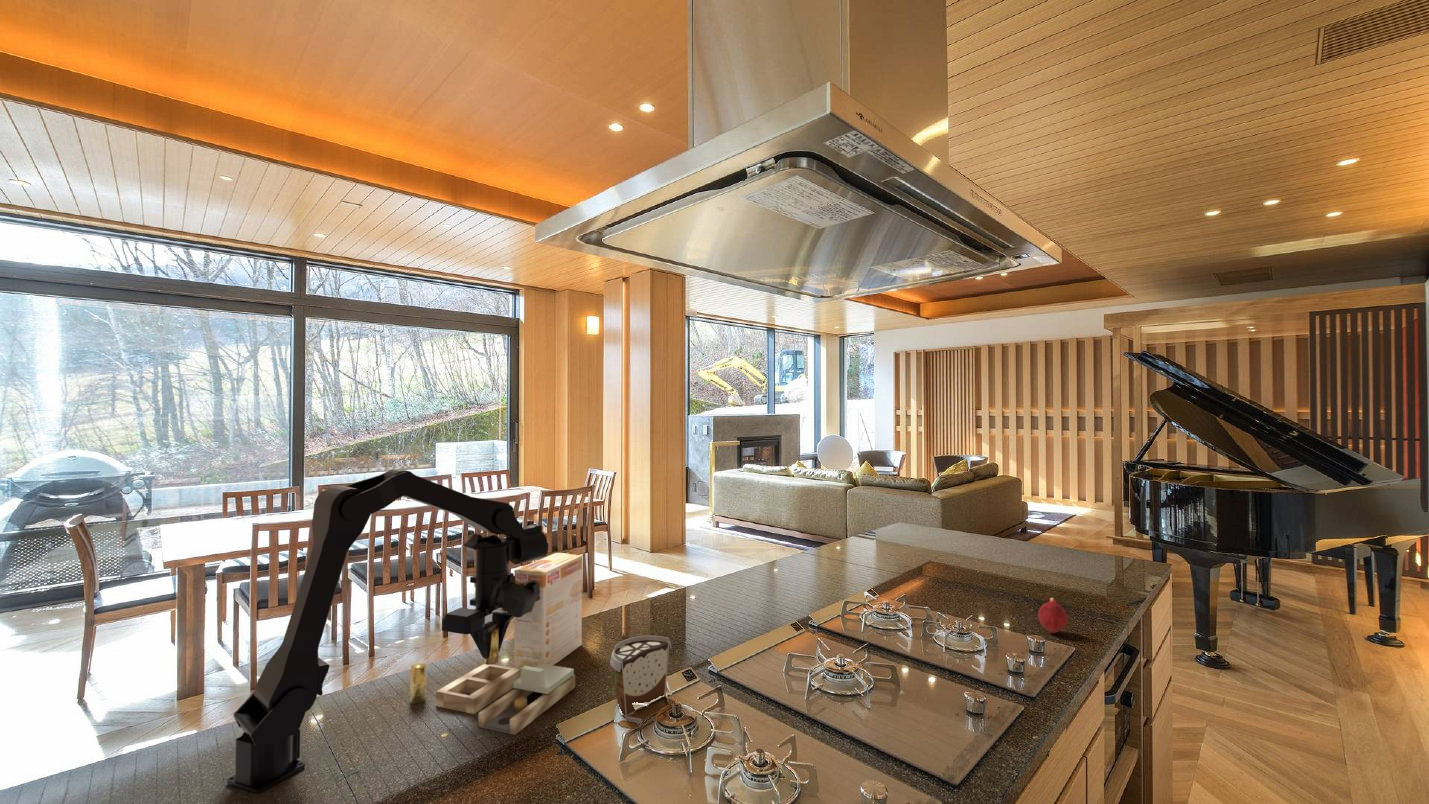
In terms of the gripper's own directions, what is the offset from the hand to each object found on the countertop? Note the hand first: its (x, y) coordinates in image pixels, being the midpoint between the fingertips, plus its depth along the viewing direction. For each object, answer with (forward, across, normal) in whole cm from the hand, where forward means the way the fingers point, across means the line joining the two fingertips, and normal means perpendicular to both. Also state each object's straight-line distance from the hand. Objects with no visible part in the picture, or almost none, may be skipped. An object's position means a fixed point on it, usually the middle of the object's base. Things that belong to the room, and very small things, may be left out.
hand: (491, 655), depth 108 cm
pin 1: (+6, -8, +8) cm, 13 cm away
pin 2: (+1, 0, 0) cm, 1 cm away
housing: (+6, -3, -11) cm, 13 cm away
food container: (+6, +4, -27) cm, 28 cm away
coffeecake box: (+6, +15, -2) cm, 16 cm away
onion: (+6, +65, -103) cm, 122 cm away
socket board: (+6, -3, 0) cm, 6 cm away
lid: (+3, +1, -11) cm, 12 cm away
